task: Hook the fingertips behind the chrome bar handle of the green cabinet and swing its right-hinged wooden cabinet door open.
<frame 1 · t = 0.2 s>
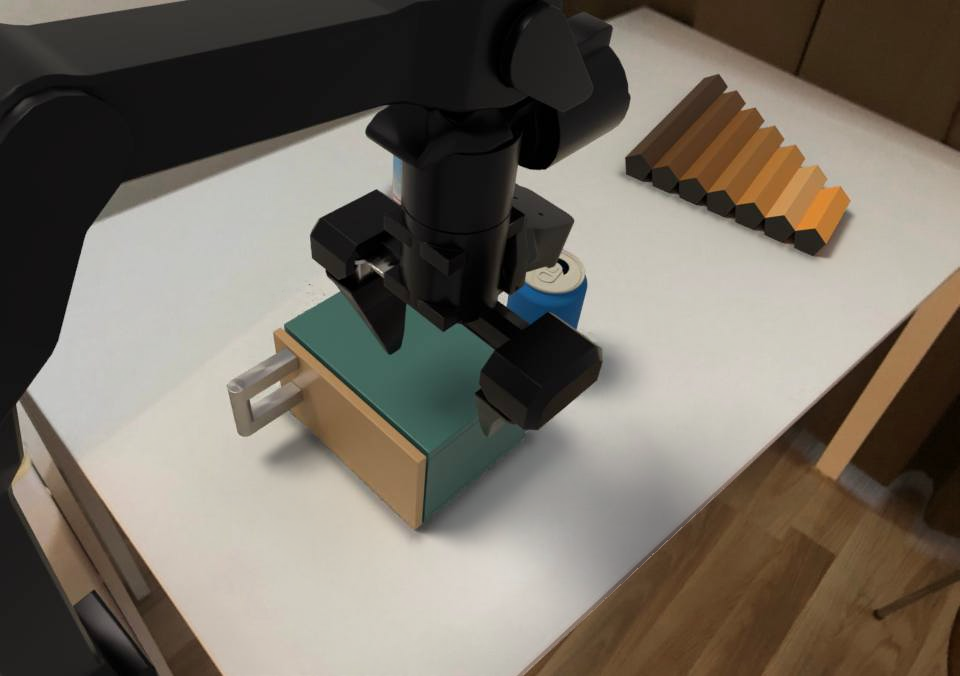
hand: (440, 389, 52), 15 cm above the table, tool pointing down, fingers open, 9 cm apart
beverage can: (532, 363, 75), on the table
pan flute: (751, 166, 101), on the table
pill bottle: (419, 199, 90), on the table
green cabinet: (408, 418, 69), on the table
wooden cabinet door: (318, 448, 61), point 5 cm above the table, hinge at 0.0°
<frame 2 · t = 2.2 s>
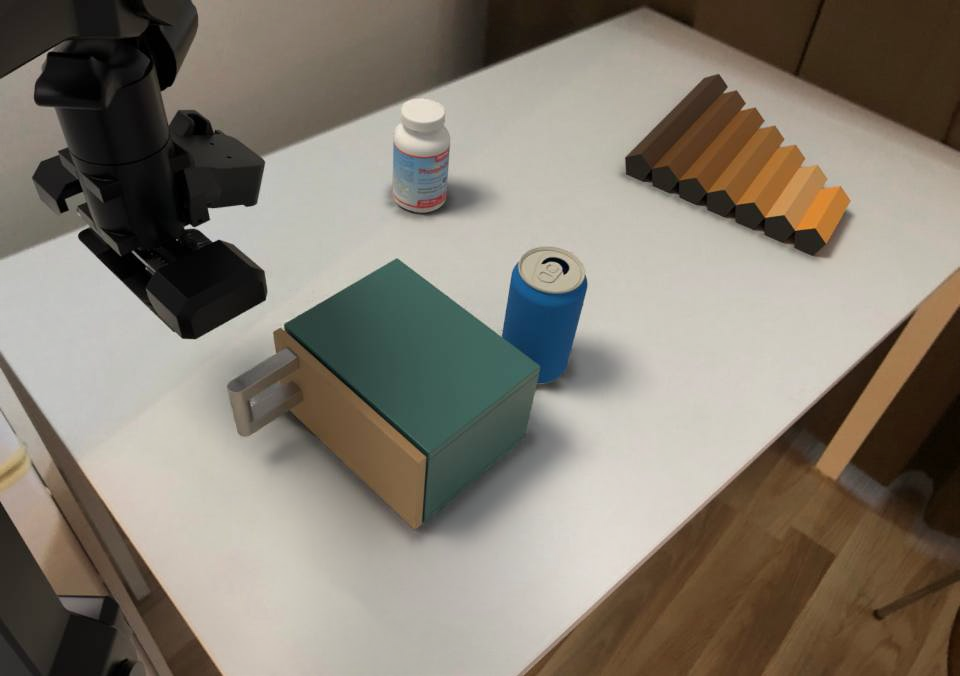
hand: (171, 320, 59), 12 cm above the table, tool pointing down, fingers closed
nothing on the table moved.
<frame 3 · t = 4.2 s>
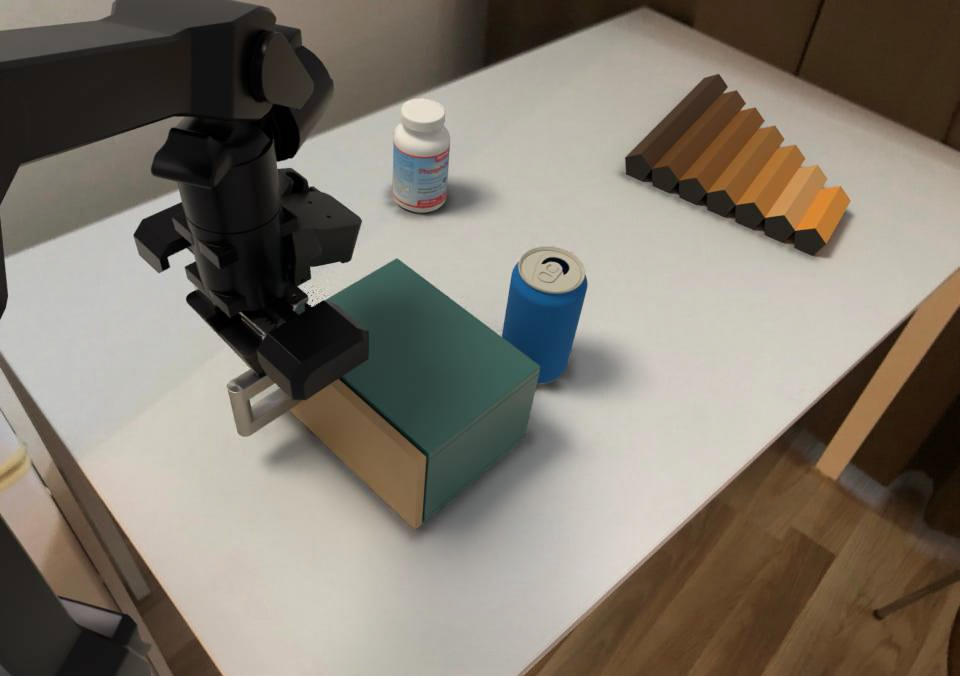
hand: (261, 370, 60), 9 cm above the table, tool pointing down, fingers closed, pressing on wooden cabinet door
wooden cabinet door: (318, 448, 61), point 5 cm above the table, hinge at 0.0°, touching gripper
everything else where it was.
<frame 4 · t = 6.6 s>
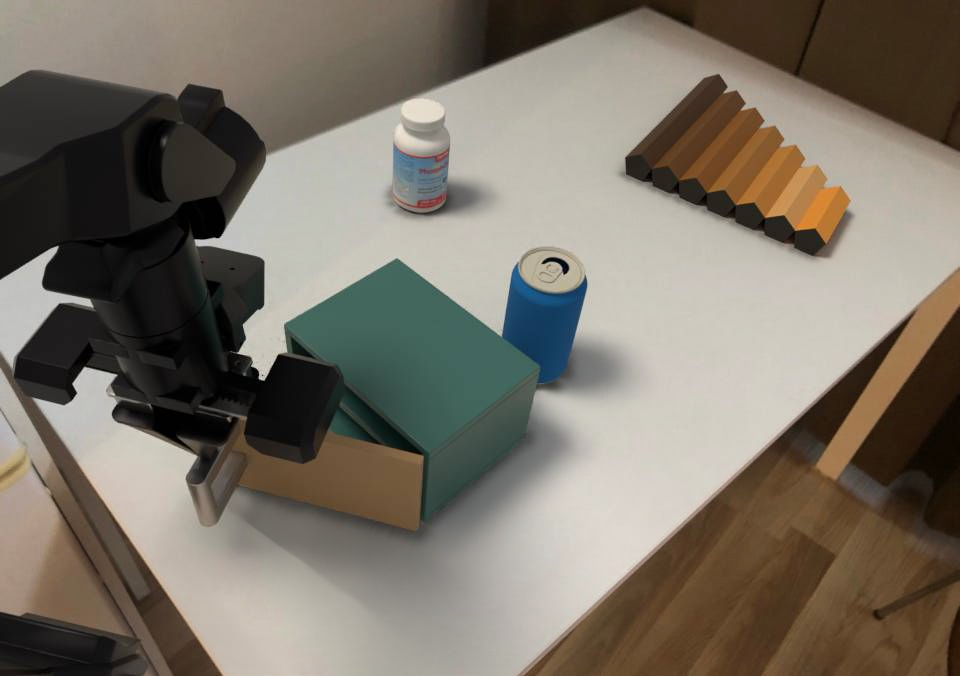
hand: (209, 452, 54), 9 cm above the table, tool pointing down, fingers closed, pressing on wooden cabinet door
wooden cabinet door: (298, 500, 57), point 5 cm above the table, hinge at 30.6°, touching gripper
everything else where it was.
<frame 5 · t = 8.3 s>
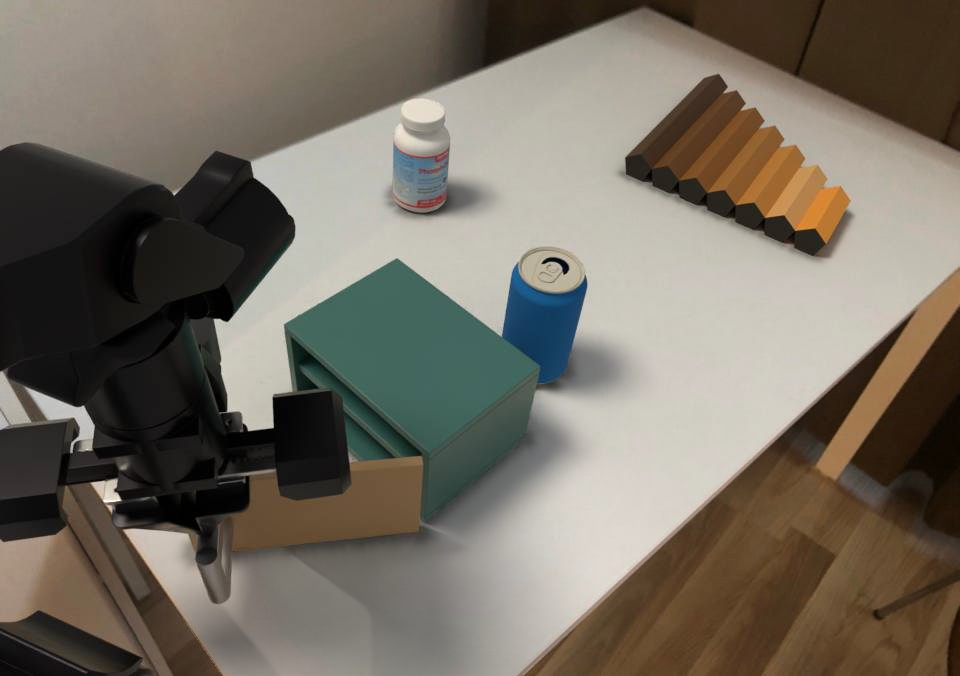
hand: (206, 527, 51), 9 cm above the table, tool pointing down, fingers closed, pressing on wooden cabinet door
wooden cabinet door: (306, 542, 55), point 5 cm above the table, hinge at 53.3°, touching gripper
everything else where it was.
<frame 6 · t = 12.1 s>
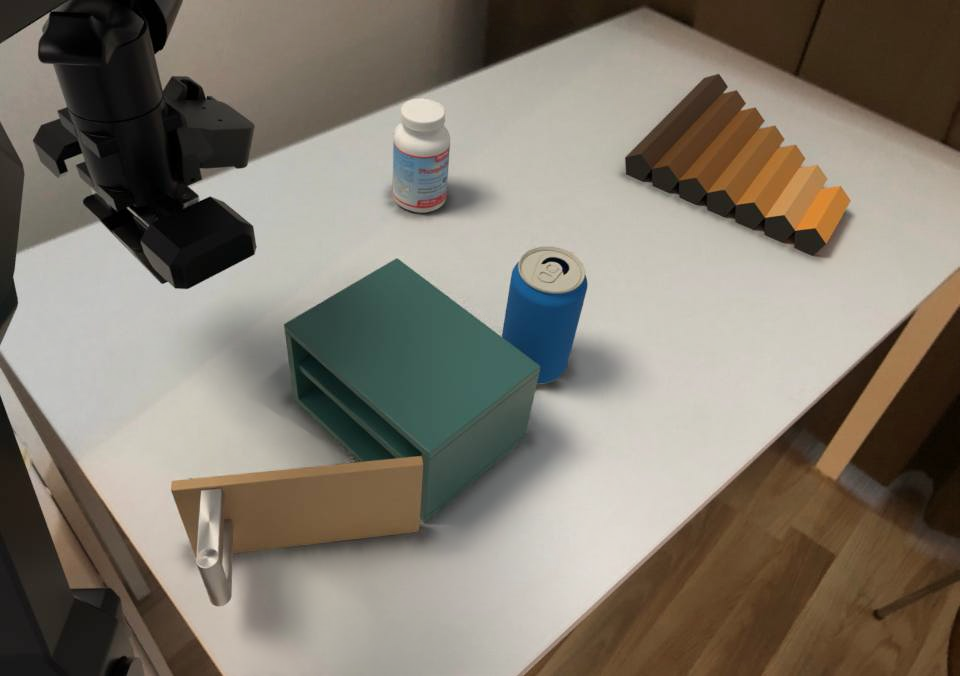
hand: (165, 279, 61), 12 cm above the table, tool pointing down, fingers closed
wooden cabinet door: (306, 544, 55), point 5 cm above the table, hinge at 54.0°
everything else where it was.
at the end: wooden cabinet door at +54° (first picture: +0°) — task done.
